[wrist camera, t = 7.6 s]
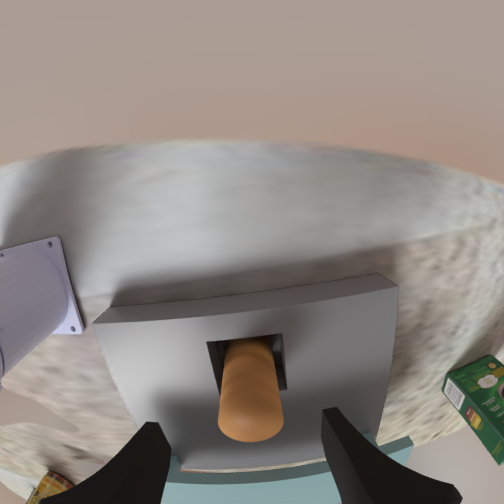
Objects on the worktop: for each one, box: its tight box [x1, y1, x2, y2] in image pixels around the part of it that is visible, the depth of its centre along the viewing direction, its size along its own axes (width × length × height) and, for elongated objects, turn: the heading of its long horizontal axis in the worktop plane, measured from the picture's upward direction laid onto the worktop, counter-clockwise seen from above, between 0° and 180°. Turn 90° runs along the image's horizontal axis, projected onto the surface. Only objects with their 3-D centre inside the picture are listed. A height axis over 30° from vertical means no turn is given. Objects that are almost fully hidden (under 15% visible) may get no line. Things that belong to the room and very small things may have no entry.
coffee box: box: [442, 355, 504, 466], centre depth 15 cm, size 8×3×13 cm, turn 95°
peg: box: [218, 335, 284, 442], centre depth 16 cm, size 3×3×8 cm
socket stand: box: [92, 273, 414, 504], centre depth 16 cm, size 20×16×8 cm
